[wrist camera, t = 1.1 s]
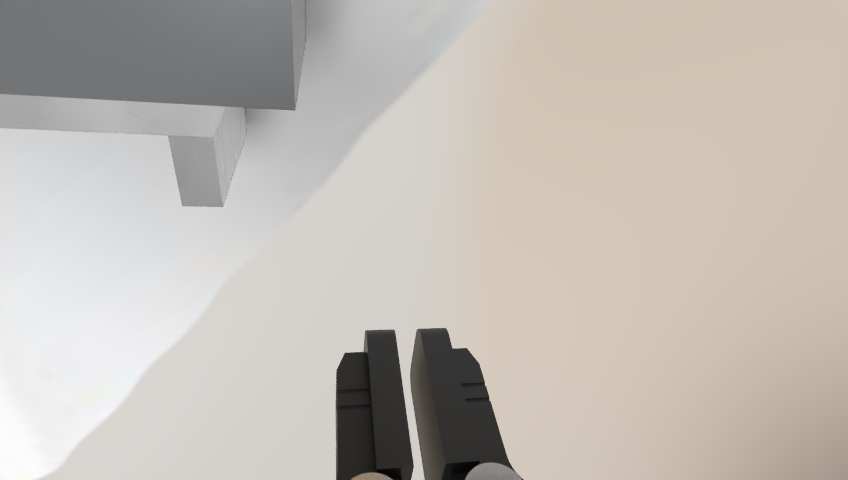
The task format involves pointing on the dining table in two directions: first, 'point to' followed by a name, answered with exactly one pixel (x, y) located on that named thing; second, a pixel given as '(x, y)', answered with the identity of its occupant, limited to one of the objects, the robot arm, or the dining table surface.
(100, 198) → the dining table surface
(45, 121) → the battery door
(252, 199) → the dining table surface
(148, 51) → the camera housing
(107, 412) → the dining table surface
